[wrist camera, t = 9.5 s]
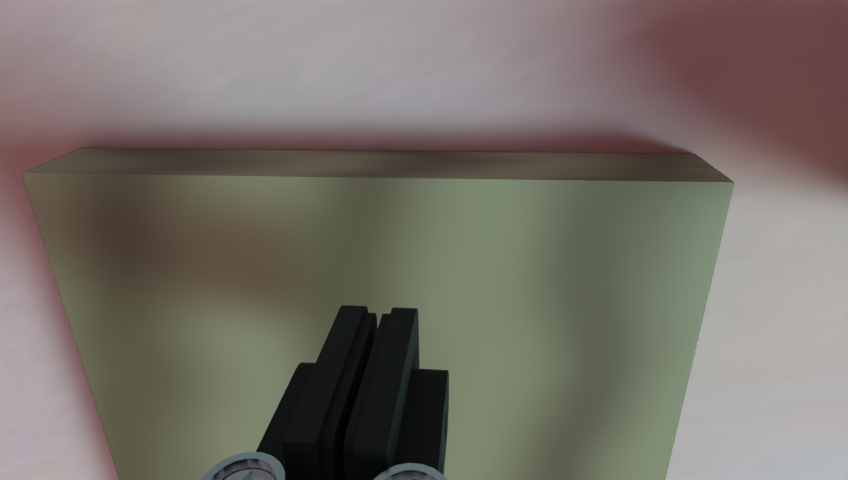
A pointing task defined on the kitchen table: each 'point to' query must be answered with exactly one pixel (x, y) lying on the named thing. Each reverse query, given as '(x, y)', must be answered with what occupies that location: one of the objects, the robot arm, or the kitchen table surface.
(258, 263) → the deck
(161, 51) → the kitchen table surface
